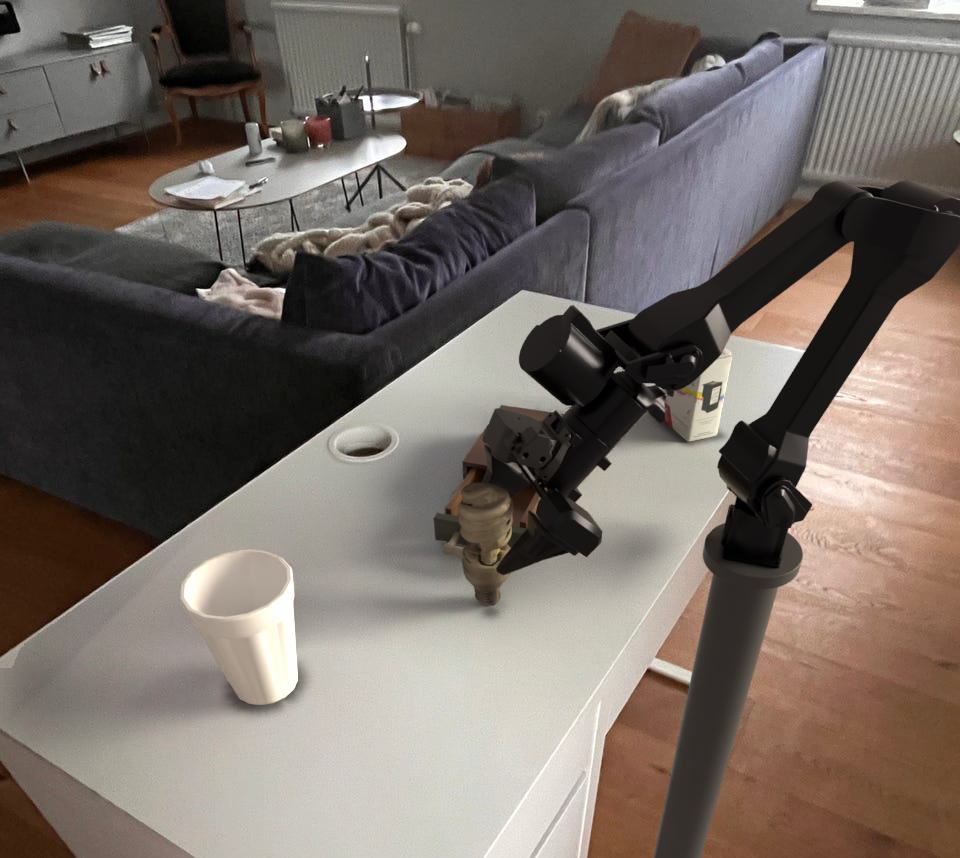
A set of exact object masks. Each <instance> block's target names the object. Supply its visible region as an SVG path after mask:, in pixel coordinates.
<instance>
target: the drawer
mask: <svg viewBox="0 0 960 858" xmlns="http://www.w3.org/2000/svg"><path fill="white" fill-rule="evenodd" d="M486 471H487V469H481V468H475V467H472V468H471V470H470V471H469V473H468V474H467V476H466V477H465V479H464V480H463V479H462V482H461V483H460V484H459V487H457V489H456V491H455V493H454V494H453V495H452V497H451V498H450V500H449V501H448V502H447V504H446V506H445V507H444V513H443V512H436V513H435V515H434V516H433V528H434V539H435V541H439V542H444V544H443V545H442V551H441V552H442V554H443V555H445V556H451V557H456V558H460V559H462V551H463V548H464V547H465V545H466V544H467V543H468V541H467V540H465V539H464V538H463V536H462V535H461V534H460V528H461V525H460V524H459V516H460V514H459V512H458V505H459V503H460V502H461V500H462V499H463V498H462V496H461V491H462V489H463V488H464V487H465V486H466V485H468V484H472V483H478V482H483V479H484V476H485V474H486ZM545 490H546V491H547V488H545ZM511 499H512V502H513V513H512V517H513V521H512V525H511V527H512V534H511V537H510V539H509V541H508V542H507V544H508V545H509V546H510V548H511V547H512V546H513V545H514V544H515V543H516V541H517V540H518V539H519V538H520V536H521V535H522V534H523V533H524V532H525V530H526V529H527V521H528V511H529V510H530V511H531V512H533V513H534V514H536V509H537V505H538V502H539V501H540V499H541V498H540V497H539V495H538V494H537V492H536V491H535V489H534V488H533V487H532V485H531V484H529V485H528V486H527V487H525V488H524V489H523V490H521V491H520V492H519V493H517V494H516V495H515V496H513V497H512V498H511ZM536 515H537V514H536ZM537 516H538V515H537Z"/></svg>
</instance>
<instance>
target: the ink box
mask: <svg viewBox="0 0 960 858" xmlns="http://www.w3.org/2000/svg"><path fill="white" fill-rule="evenodd" d="M732 362H733V354H732V352H731V351H730V350H729V349H727V348H726V347H725V348H724V350H723V352H722V354H721V355H720V357H719V358H718V359H717V360H716V361H715V362H714V363H713V364H712V365H711V366H710V367H709V368H708V369H707V370H706V371H704V372H703V373H702V374H701V375H700V376H699V377H698V378H697V379H696V380H695V381H694V382H693V383H692V384H690V385H689V386H687V387H685V388H683V389H681V390H678V391H675V390H665V389H662V388H661V390H662V391H663V392H664V393H666V395H667V397H666V400H665V421H664V423H666V424H667V425H668V426H669V427H671V429H673V430H674V432H676V433H677V434H678V435H679V436H681V438H683V439H684V440H685V441H686V442H688V443H689V442H694V441H698V440H703V439H709V438H711V437H717V435H718V431H719V426H720V422H721V416H722V411H723V406H724V400H725V395H726V391H727V385H728V380H729V375H730V371H731V365H732Z"/></svg>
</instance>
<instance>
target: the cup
mask: <svg viewBox="0 0 960 858" xmlns="http://www.w3.org/2000/svg"><path fill="white" fill-rule="evenodd" d="M293 575H294V574H293V568H292V567H291V566H290V564H289V563H288V562H287V561H286V560H285V559H284V557H282V556H279V555H276V554H274V553H272V552H270V551H267V550H260V549H249V548H248V549H247V548H245V549H239V550H232V551H226V552H223V553H221V554H218V555H215V556H213V557H210V558H208V559H205V560H204V561H203V562H201V563H200V564H198V565H197V566H196V567H194V568H193V569H192V570H191V571H189V573H188V574H187V576H186V577H185V579H184V580H183V582H182V583H181V585H180V586H179V600H178V601H179V602H180V604H181V606H182V608H183V610H184V612H185V613H186V616H187V617H188V618H189V620H190V621H191V623H192V624H193V626H195V627H196V629H197V631H198V633H199V634H200V636H201V637H202V640H203V641H204V642H205V645H206V646H207V647H208V649H209V651H210V652H211V654H212V656H213V657H214V660H215V661H216V662H217V664H218V666H219V668H220V670H221V671H222V673H223V675H224V676H225V678H226V680H227V681H228V683H229V685H230V686H231V688H232V690H233V691H234V693H235V695H236V696H237V698H239V700H241V701H243V702H245V703H246V704H248V705H256V706H257V705H258V706H264V705H270V704H274V703H276V702H279V701H281V700H282V699H285V698H286V697H287V696H289V694H290V693H291V692H293V691H294V690H295V688H296V685H297V683H298V681H299V675H298V674H299V673H298V659H297V641H296V628H295V627H296V625H295V610H294V600H295V585H294V577H293Z"/></svg>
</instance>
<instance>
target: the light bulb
mask: <svg viewBox="0 0 960 858" xmlns="http://www.w3.org/2000/svg"><path fill="white" fill-rule="evenodd" d="M461 496H462V498H463V499H462V500H461V502H460V503H459V505H458V512H459V514H460V516H459V524H460V525H461V528H460V534H461V535H462V536H463V538H464V539H465V540H467V541H468V543H467V544H466V545H465V546H463V547H464V548H463V551H462V558H461V564H462V565H461V566H462V573H463V576H464V578H465V579H466V580H467V582H468V583H469V584H470V585H472V586H473V589H474V598H475V599H476V601H477V602H478V603H479V604H480V605H482V606H485V607H490V606H495V605H496V604H497V603H498V602H499V600H500V599H501V587H502V585H503V584H504V583H506V581H507V580H508V579H509V578H510V575H511V573H509V574H506V575H501V574H500V573H498V572H497V571H496V567H497V566H498V564H499V563H500V561H501V560H502V559H503V557H504V556H505V555H506V554H507V552H508V551H509V550H510V549H511V548H510V546H509V545H508V544H507V542H508V541H509V539H510V537H511V534H512V527H511V525H512V521H513V517H512V513H513V502H512V499H511V497H510V495H509V493H508V492H507V491H506V490H505V489H503V488H501V487H499V486H497V485H495V484H491V483H485V482H478V483H472V484H468V485H466V486H465V487H464V488H463V489H462V491H461Z"/></svg>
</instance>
